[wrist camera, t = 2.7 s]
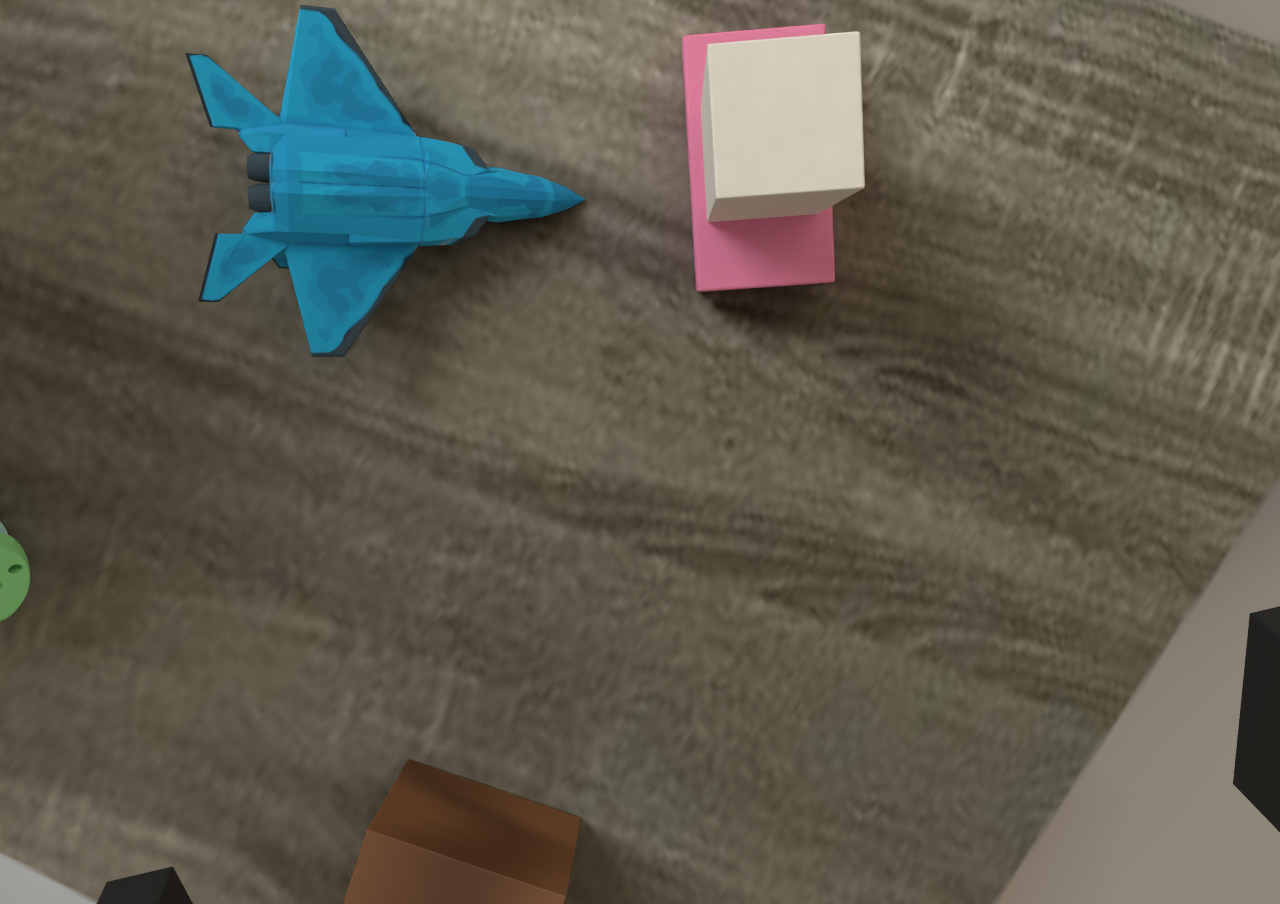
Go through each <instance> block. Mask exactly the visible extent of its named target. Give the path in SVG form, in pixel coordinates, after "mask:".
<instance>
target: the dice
mask: <svg viewBox="0 0 1280 904" xmlns="http://www.w3.org/2000/svg"><path fill="white" fill-rule="evenodd" d="M29 585H30V568H29V563H28V559H27V556H26V554H25V552H24V550H23V548H22V546H21V545H20V544H19V543H18V542H17V541H16V540H15V539H14V538H13V537H11V536H9V535H8V533H7V531H6V529H5V527H4V525H3V524H2V523H1V521H0V621H3V620H5V619H7V618H8V617H10V616H11V615H12V614H13V613H14V612H15V611H16V610H17V609H18V608H19V607H20V605H21V604H22V602H23V601H24V599H25V597H26V595H27V593H28V590H29Z"/></svg>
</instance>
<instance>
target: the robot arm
mask: <svg viewBox="0 0 1280 904" xmlns="http://www.w3.org/2000/svg"><path fill="white" fill-rule="evenodd" d="M1233 784H1234V785H1235V786H1236V787H1237V788H1238V789H1239V790H1240V791H1241V792H1242V793H1243V794H1244V796H1245V797H1246V798H1247V799H1248V800H1250V802H1251V803H1252V804H1253V805H1254V806H1255V807H1256V808H1257V809H1258V810H1259V811H1260V812H1261V813H1262V814H1263V815H1264V816H1265V817H1266V818H1267V819H1268V820H1269V822H1270V823H1271V824H1273V826H1274V827H1275V828H1276V829H1277V830H1278V831H1279V832H1280V606H1279V607H1276V608H1271V609H1267V610H1262V611H1258V612H1254V613H1250V618H1249V628H1248V638H1247V649H1246V658H1245V668H1244V678H1243V689H1242V699H1241V709H1240V719H1239V729H1238V739H1237V750H1236V759H1235V770H1234V780H1233ZM97 904H193V903H192V902H191V900H190V898H189V896H188V894H187V892H186V890H185V888H184V886H183V885H182V883H181V881H180V879H179V877H178V875H177V873H176V871H175V870H174V868H173V867H169V868H165V869H161V870H156V871H152V872H148V873H143V874H139V875H135V876H131V877H126V878H122V879H118V880H114V881H109V882H107V883H106V885H105V887H104V889H103V891H102V894H101V896H100V898H99V900H98V902H97Z"/></svg>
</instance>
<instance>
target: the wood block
mask: <svg viewBox="0 0 1280 904" xmlns="http://www.w3.org/2000/svg"><path fill="white" fill-rule="evenodd" d="M580 822H581V818H580V817H577V816H574V815H571V814H568V813H566V812H563V811H560V810H557V809H554V808H551V807H548V806H545V805H542V804H539V803H536V802H533V801H530V800H527V799H524V798H522V797H519V796H516V795H513V794H510V793H507V792H504V791H501V790H498V789H495V788H492V787H489V786H486V785H483V784H480V783H478V782H475V781H472V780H469V779H466V778H463V777H460V776H457V775H454V774H451V773H448V772H445V771H442V770H439V769H437V768H434V767H431V766H428V765H425V764H422V763H419V762H416V761H413V760H410V759H408V760H407V762H406V764H405V765H404V767H403V769H402V770H401V772H400V774H399V776H398V777H397V779H396V781H395V782H394V784H393V786H392V788H391V789H390V791H389V793H388V794H387V796H386V798H385V800H384V801H383V803H382V805H381V806H380V808H379V810H378V812H377V813H376V815H375V817H374V818H373V820H372V822H371V824H370V825H369V827H368V829H367V831H366V834H365V837H364V840H363V843H362V846H361V849H360V853H359V856H358V859H357V862H356V865H355V868H354V871H353V874H352V877H351V880H350V884H349V887H348V890H347V893H346V896H345V899H344V902H343V904H564V902H565V900H566V896H567V891H568V886H569V880H570V875H571V870H572V864H573V859H574V854H575V849H576V843H577V838H578V833H579V828H580Z"/></svg>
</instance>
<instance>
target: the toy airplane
mask: <svg viewBox="0 0 1280 904" xmlns="http://www.w3.org/2000/svg"><path fill="white" fill-rule="evenodd" d="M186 56H187V59H188V62H189V65H190V68H191V71H192V74H193V77H194V80H195V83H196V86H197V89H198V92H199V95H200V98H201V101H202V104H203V107H204V110H205V113H206V116H207V119H208V122H209V125H210V127H215V128H226V129H235V130H237V131H239V137H240V138H241V139H242V140H243V142H244V143H245V144H246V145H247V146H248V148H249V149H250V150H251V151H252V152H255V153H260V154H251V155H247V172H248V178H249V179H252V180H255V181H261V182H267V183H269V184H257V185H251V186H248V197H249V209H252V210H254V211H260V212H257V213H254V214H253V216H252V217H251V218H250V220H249V221H248V222H247V224H246V225H245V226H244V228H243V233H240V234H215V237H214V241H213V245H212V249H211V253H210V257H209V261H208V265H207V269H206V273H205V277H204V280H203V284H202V288H201V292H200V296H199V300H198V301H200V302H219V301H220V300H221V299H223V298H224V297H225V296H226V295H228V294H229V293H230V292H231V291H232V290H234V289H235V288H236V287H237V286H239V285H240V284H241V283H242V282H244V281H245V280H246V279H247V278H248V277H250V276H251V275H252V274H253V273H255V272H256V271H257V270H258V269H260V268H261V267H262V266H263V265H264V264H266V263H267V262H268V261H269V260H271V259H273V260H274V262H275V263H276V264H277V266H278V267H279V268H289V269H290V273H291V277H292V281H293V285H294V289H295V293H296V297H297V300H298V304H299V308H300V312H301V316H302V320H303V324H304V328H305V331H306V335H307V339H308V343H309V347H310V351H311V355H312V357H344V356H345V355H346V353H347V352H348V350H349V349H350V347H351V346H352V344H353V343H354V341H355V340H356V338H357V337H358V335H359V334H360V332H361V331H362V329H363V328H364V326H365V325H366V324H367V322H368V321H369V319H370V318H371V316H372V315H373V313H374V312H375V310H376V309H377V307H378V306H379V304H380V303H381V301H382V300H383V298H384V297H385V295H386V294H387V292H388V291H389V289H390V288H391V286H392V285H393V283H394V282H395V280H396V279H397V277H398V276H399V274H400V273H401V271H402V270H403V268H404V267H405V265H406V264H407V262H408V261H409V259H410V258H411V256H412V255H413V254H414V252H415V251H416V249H417V248H418V246H433V245H453V244H462V243H463V242H465V241H467V240H468V239H470V238H471V237H473V236H474V235H475V234H476V233H477V232H478V230H479V229H480V228H481V227H482V226H483V225H484V224H485V222H486V221H490V222H504V221H511V220H519V219H528V218H536V217H543V216H547V215H550V214H553V213H557V212H560V211H564V210H567V209H569V208H571V207H573V206H574V205H576V204H578V203H580V202H582V201H584V200H586V199H584V198H582V197H581V196H579V195H578V194H576V193H574V192H573V191H571V190H570V189H568V188H566V187H564V186H562V185H559V184H557V183H554V182H552V181H549V180H547V179H544V178H542V177H537V176H533V175H528V174H524V173H519V172H515V171H511V170H507V169H503V168H496V167H487V166H486V164H485V163H484V162H483V160H482V159H481V158H480V156H479V155H478V154H477V152H476V151H475V150H474V149H473V148H470V147H467V146H465V145H461V144H458V143H451V142H445V141H440V140H436V139H431V138H425V137H417V135H416V134H415V132H414V131H413V129H412V128H411V126H410V124H409V123H408V121H407V120H406V118H405V117H404V115H403V114H402V112H401V111H400V109H399V107H398V106H397V104H396V103H395V101H394V100H393V98H392V97H391V95H390V94H389V92H388V90H387V89H386V87H385V86H384V84H383V83H382V81H381V80H380V78H379V77H378V75H377V73H376V72H375V70H374V69H373V67H372V66H371V64H370V63H369V61H368V60H367V58H366V56H365V55H364V53H363V52H362V50H361V49H360V47H359V46H358V44H357V43H356V41H355V39H354V38H353V36H352V35H351V33H350V32H349V30H348V29H347V27H346V26H345V24H344V22H343V21H342V19H341V18H340V16H339V15H338V13H337V12H336V10H335V9H333V8H324V7H315V6H305V5H300V10H299V16H298V21H297V27H296V32H295V37H294V43H293V48H292V54H291V59H290V64H289V70H288V75H287V81H286V86H285V91H284V97H283V102H282V108H281V113H280V115H275V114H274V113H272V112H271V111H270V110H269V109H268V108H267V107H266V106H264V105H263V104H262V103H261V102H260V101H259V100H258V99H256V98H255V97H254V96H253V95H252V94H251V93H250V92H248V91H247V90H246V89H245V88H244V87H243V86H242V85H240V84H239V83H238V82H237V81H236V80H235V79H234V78H232V77H231V76H230V75H229V74H228V73H227V72H226V71H224V70H223V69H222V68H221V67H220V66H219V65H218V64H216V63H215V62H214V61H213V60H212V59H211V58H210V57H208V56H207V55H202V54H191V53H186Z"/></svg>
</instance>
